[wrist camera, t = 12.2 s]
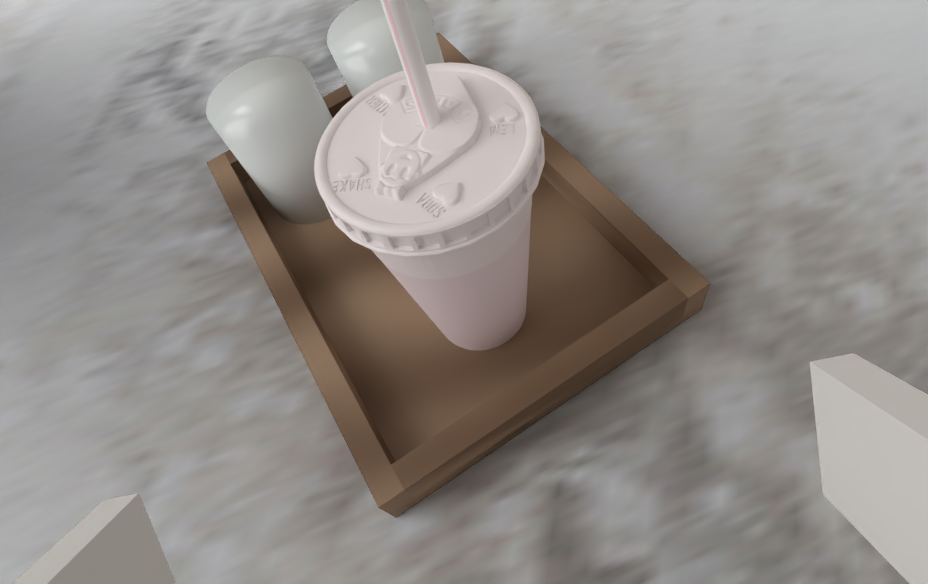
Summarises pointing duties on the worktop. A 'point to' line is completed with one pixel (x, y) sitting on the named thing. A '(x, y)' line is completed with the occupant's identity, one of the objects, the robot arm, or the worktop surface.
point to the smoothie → (440, 186)
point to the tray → (430, 352)
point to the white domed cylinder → (376, 42)
